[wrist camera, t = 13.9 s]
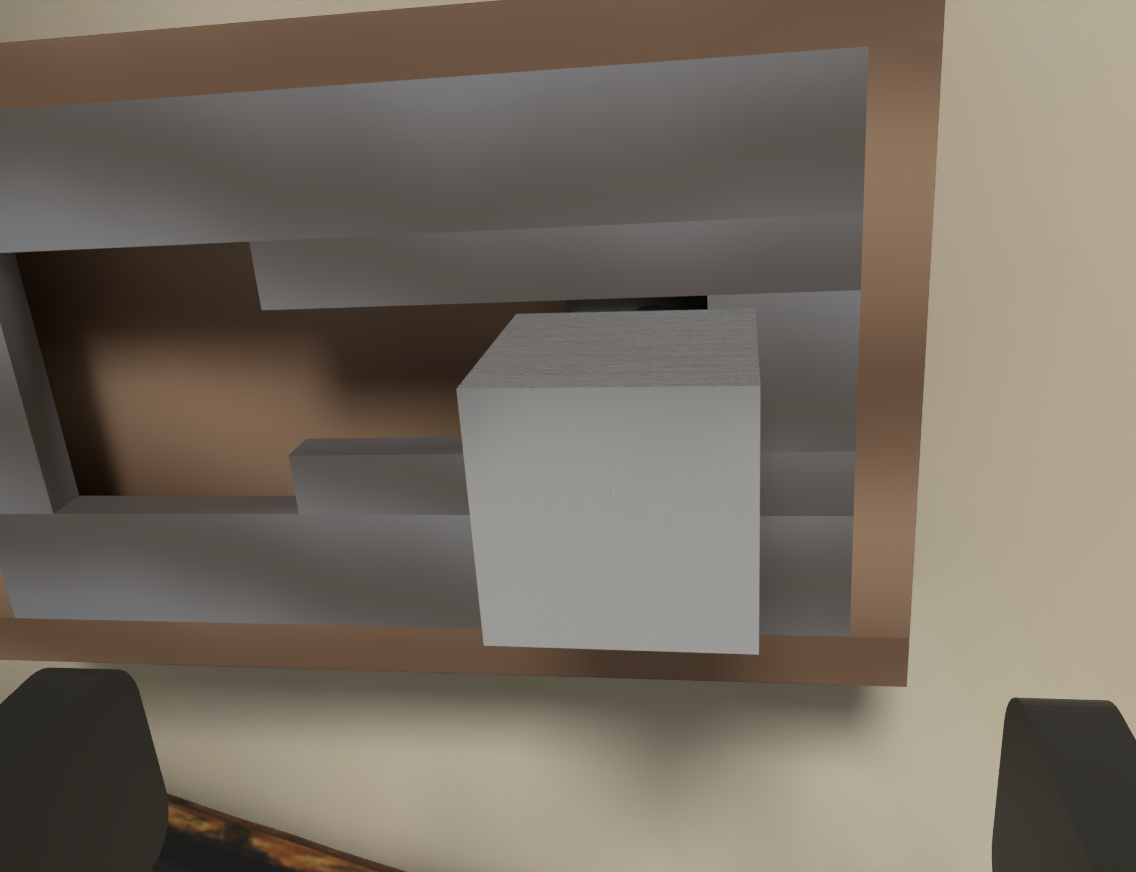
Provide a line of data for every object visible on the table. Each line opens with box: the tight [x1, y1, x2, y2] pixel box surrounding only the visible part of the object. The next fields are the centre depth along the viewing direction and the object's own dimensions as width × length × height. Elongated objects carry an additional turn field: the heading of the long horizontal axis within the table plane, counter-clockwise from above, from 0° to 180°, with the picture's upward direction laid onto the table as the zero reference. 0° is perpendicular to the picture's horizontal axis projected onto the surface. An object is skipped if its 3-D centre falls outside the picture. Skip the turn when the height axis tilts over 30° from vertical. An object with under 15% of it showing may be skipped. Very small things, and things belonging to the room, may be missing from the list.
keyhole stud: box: [456, 295, 761, 655], centre depth 18 cm, size 4×4×10 cm
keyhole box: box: [0, 0, 945, 687], centre depth 23 cm, size 14×22×4 cm, turn 94°
